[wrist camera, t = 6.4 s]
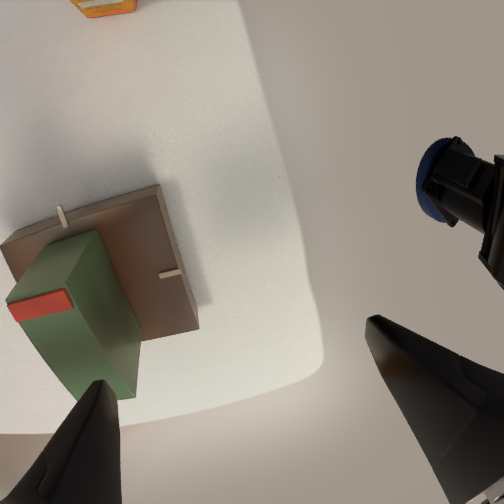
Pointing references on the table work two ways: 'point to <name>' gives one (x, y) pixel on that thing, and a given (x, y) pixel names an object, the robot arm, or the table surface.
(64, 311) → the green box
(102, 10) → the supplement box
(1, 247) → the brown rectangular platform
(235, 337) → the table surface
